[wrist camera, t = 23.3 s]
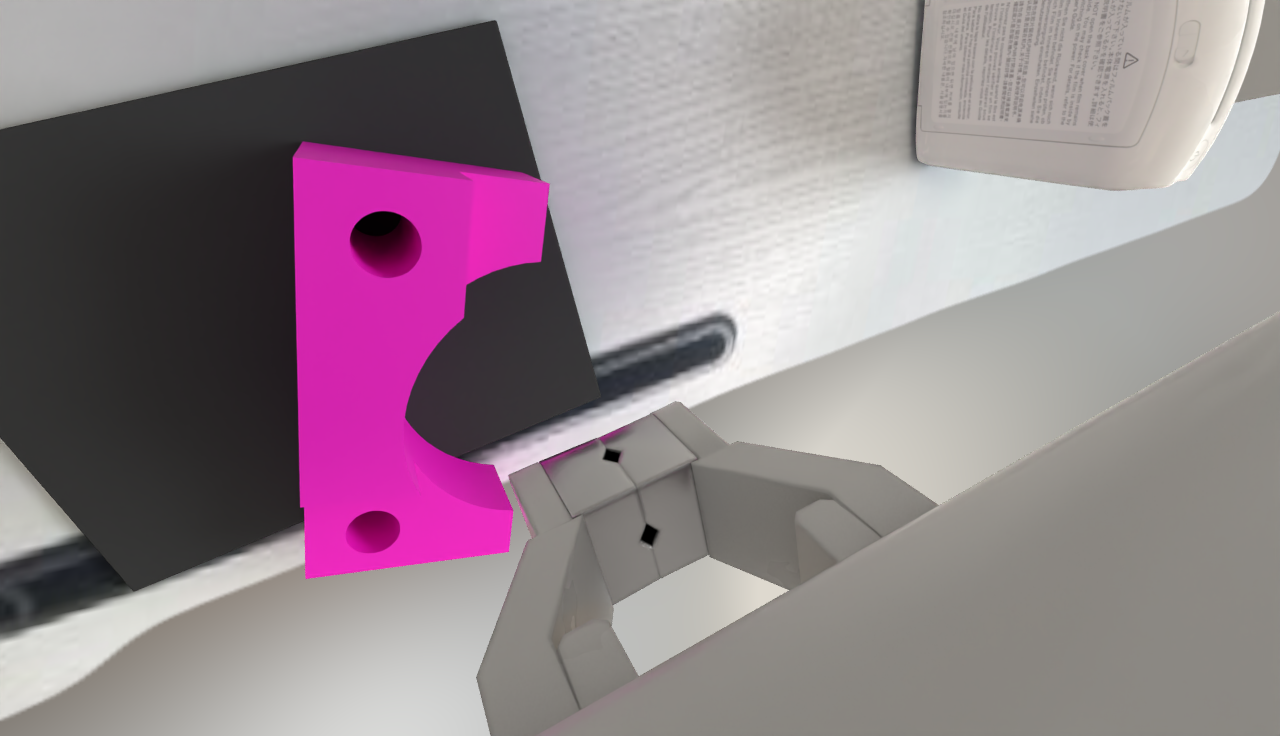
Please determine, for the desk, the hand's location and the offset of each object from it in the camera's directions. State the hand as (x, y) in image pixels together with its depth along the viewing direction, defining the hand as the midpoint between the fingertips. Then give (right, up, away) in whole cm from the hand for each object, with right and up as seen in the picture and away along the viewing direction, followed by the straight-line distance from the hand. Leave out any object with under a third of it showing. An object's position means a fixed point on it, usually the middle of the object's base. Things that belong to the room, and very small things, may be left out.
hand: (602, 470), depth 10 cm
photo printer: (+16, +17, +21) cm, 31 cm away
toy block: (-11, +1, +11) cm, 15 cm away
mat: (-12, +4, +13) cm, 18 cm away
